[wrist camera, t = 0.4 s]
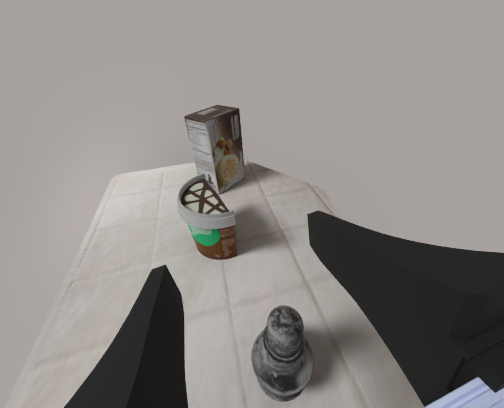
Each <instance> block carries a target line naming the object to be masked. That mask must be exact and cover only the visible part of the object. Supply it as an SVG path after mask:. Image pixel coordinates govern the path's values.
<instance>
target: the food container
mask: <svg viewBox="0 0 504 408" xmlns="http://www.w3.org/2000/svg"><path fill="white" fill-rule="evenodd" d="M178 213H179V215H180V217H181V218H182V219H183V220H184V221H185V222H186V223H188V226H189V228H190V231H191V233H192V236H193V238H194V241H195V243H196V246H197V248H198V250H199V252H200V253H201V254H202V255H204V256H206V257H208V258H211V259H217V260H223V259H229V258H232V257H235V256H237V252H236V237H235V225H237V224H236V219H235V215H234V211H233V210H232V211H229V210H228V209H227V207H226V206H225V205H224V203H223V202H222V200H221V199H220V197H219V196H218V194H217V193H216V192H215V190H214V189H213V188H212V187H211V186H210V185H209V183H208V182H207V181H206V177H205V173H204V174H201V175H198V176H196V177H194V178H192V179H191V180H189V181H188V182H186V183H185V184H184V185H183V187H182V188H181V189H180V191H179V195H178Z"/></svg>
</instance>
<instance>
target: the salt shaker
mask: <svg viewBox="0 0 504 408" xmlns="http://www.w3.org/2000/svg"><path fill="white" fill-rule="evenodd" d="M303 329H304V326H303V321H302V318H301V316H300V315H299V313H298V312H297V311H296V310H295V309H293V308H291V307H289V306H278V307H276V308H274V309H273V310H272V311H271V313H270V315H269V316H268V320H267V326H266V328H265V330H263V331H262V332H261V333H260V334H259V336H258V337H257V339H256V341H255V342H254V345H253V349H252V365H253V370H254V372H255V374H256V376H257V380H258V382H259V384H260V387H261V388H262V390H263V391H264V392H265V393H266V394H267V395H268V396H269V397H271V398H272V399H274V400H277V401H289V400H292V399H294V398H295V397H297V396H298V395H299V394H300V393H301V391H302V390H303V388H304V387H305V386H306V385H307V383H308V382H309V380H310V378H311V375H312V372H313V363H314V360H313V354H312V351H311V348H310V346H309V343H308V342H307V340H306V339H305V337H304V335H303Z"/></svg>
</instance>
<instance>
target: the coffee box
mask: <svg viewBox="0 0 504 408" xmlns="http://www.w3.org/2000/svg"><path fill="white" fill-rule="evenodd" d="M185 121H186V125H187V130H188V134H189V139H190V143H191V148H192V152H193V156H194V161H195V165H196V169H197V174H198V175H201V174H204V173H205V177H206V181H207V182H208V183H209V185H210V186H211V187H212V188H213V189H214V190H215V192H216V193H217V194H218V195H220V194H221V193H223V192H224V191H226V190H227V189H228V188H230V187H231V186H233V185H234V184H236V183H237V182H239V181H240V180H241V179H243V178H244V177H245V172H244V160H243V148H242V137H241V125H240V114H239V109H238V108H233V107H227V106H221V105H216V106H213V107H210V108H207V109H204V110H201V111H198V112H195V113H193V114H190V115H187V116H185Z"/></svg>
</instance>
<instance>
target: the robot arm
mask: <svg viewBox="0 0 504 408" xmlns="http://www.w3.org/2000/svg"><path fill="white" fill-rule="evenodd" d="M307 215H308V227H309V240H310V246H311V247H312V249H313V250H314V252H315V254H316V255H317V256H318V258H319V259H320V261H321V262H322V263H323V264H324V265H325V267H326V268H327V269H328V270H329V271H330V272H331V274H332V275H333V276H334V277H335V278H336V279H337V280H338V282H339V283H340V284H341V285H342V286H343V287H344V288H345V289H346V291H347V292H348V293H349V294H350V295H351V296H352V298H353V299H354V300H355V301H356V303H357V304H358V305H359V307H360V308H361V310H362V311H363V312H364V314H365V315H366V316H367V318H368V319H369V321H370V322H371V324H372V325H373V326H374V328H375V329H376V331H377V332H378V334H379V335H380V337H381V338H382V340H383V341H384V343H385V344H386V346H387V347H388V349H389V350H390V352H391V353H392V355H393V356H394V358H395V359H396V361H397V363H398V364H399V366H400V367H401V369H402V371H403V372H404V374H405V375H406V377H407V379H408V380H409V382H410V384H411V385H412V387H413V388H414V390H415V392H416V393H417V395H418V397H419V399H420V400H421V402H422V404H423V405H424V406H425V407H424V408H504V253H497V252H483V251H473V250H464V249H456V248H449V247H442V246H436V245H430V244H425V243H419V242H415V241H409V240H406V239H401V238H397V237H393V236H390V235H386V234H382V233H379V232H376V231H373V230H370V229H367V228H364V227H361V226H358V225H355V224H353V223H350V222H347V221H345V220H342V219H339V218H337V217H334V216H332V215H329V214H327V213H324V212H321V211H316V212H313V213H310V214H307ZM64 408H188V402H187V392H186V382H185V360H184V311H183V303H182V296H181V293H180V291H179V289H178V287H177V285H176V283H175V281H174V280H173V278H172V276H171V274H170V272H169V270H168V268H167V267H166V265H163V266H161V267H158V268H155V269H152V271H151V272H150V274H149V276H148V278H147V280H146V282H145V284H144V286H143V288H142V290H141V292H140V294H139V296H138V298H137V300H136V302H135V304H134V305H133V307H132V309H131V311H130V313H129V315H128V317H127V318H126V320H125V322H124V323H123V325H122V327H121V328H120V330H119V332H118V334H117V335H116V337H115V338H114V340H113V342H112V343H111V345H110V346H109V348H108V349H107V351H106V352H105V354H104V355H103V357H102V358H101V359H100V361H99V362H98V364H97V365H96V367H95V368H94V369H93V371H92V372H91V373H90V375H89V376H88V377H87V379H86V380H85V381H84V382H83V384H82V385H81V386H80V388H79V389H78V390H77V392H76V393H75V394H74V396H73V397H72V398H71V399H70V401H69V402H68V403H67V404H66V406H65V407H64Z"/></svg>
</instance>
